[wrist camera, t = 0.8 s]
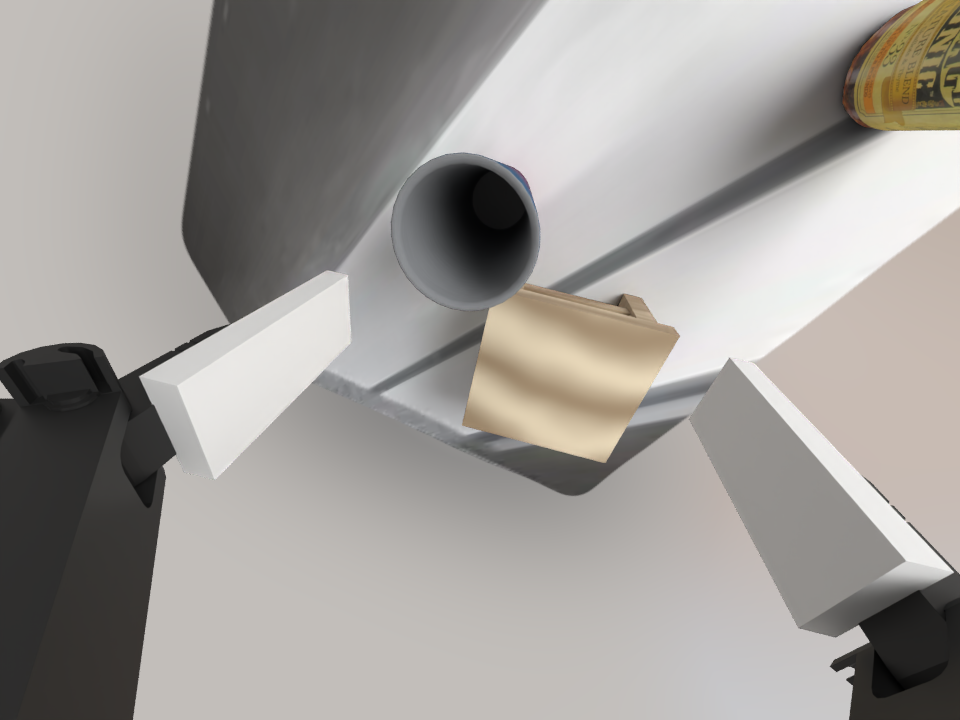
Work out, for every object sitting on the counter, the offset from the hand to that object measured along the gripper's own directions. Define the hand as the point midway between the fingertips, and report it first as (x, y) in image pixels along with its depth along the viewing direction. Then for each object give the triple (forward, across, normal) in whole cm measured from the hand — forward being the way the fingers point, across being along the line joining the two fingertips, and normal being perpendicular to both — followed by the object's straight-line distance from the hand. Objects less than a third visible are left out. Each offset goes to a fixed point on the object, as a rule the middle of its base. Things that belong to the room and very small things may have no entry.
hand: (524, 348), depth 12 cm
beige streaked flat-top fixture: (+20, +4, -10) cm, 22 cm away
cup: (+20, -4, +2) cm, 21 cm away
